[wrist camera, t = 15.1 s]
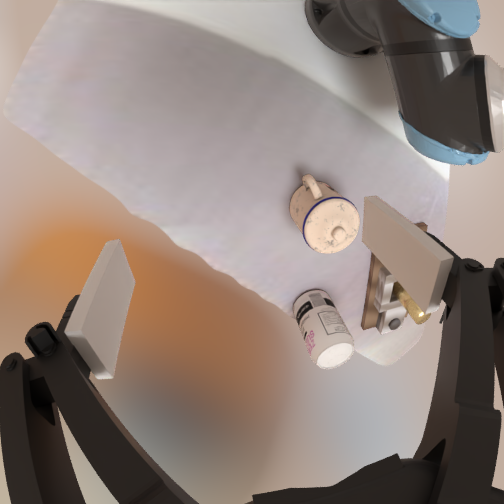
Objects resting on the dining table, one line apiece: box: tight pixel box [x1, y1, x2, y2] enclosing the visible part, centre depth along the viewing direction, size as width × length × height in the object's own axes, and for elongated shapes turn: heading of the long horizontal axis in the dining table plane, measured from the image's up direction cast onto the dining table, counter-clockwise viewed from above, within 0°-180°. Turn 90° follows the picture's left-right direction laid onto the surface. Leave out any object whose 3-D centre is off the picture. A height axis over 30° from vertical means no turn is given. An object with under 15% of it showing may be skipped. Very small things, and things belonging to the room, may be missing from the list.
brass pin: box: [392, 281, 431, 324], centre depth 55 cm, size 4×4×12 cm
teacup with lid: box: [290, 174, 360, 253], centre depth 44 cm, size 12×9×12 cm
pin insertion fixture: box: [361, 223, 428, 335], centre depth 60 cm, size 26×13×6 cm, turn 6°
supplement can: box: [293, 290, 354, 369], centre depth 55 cm, size 8×8×15 cm
